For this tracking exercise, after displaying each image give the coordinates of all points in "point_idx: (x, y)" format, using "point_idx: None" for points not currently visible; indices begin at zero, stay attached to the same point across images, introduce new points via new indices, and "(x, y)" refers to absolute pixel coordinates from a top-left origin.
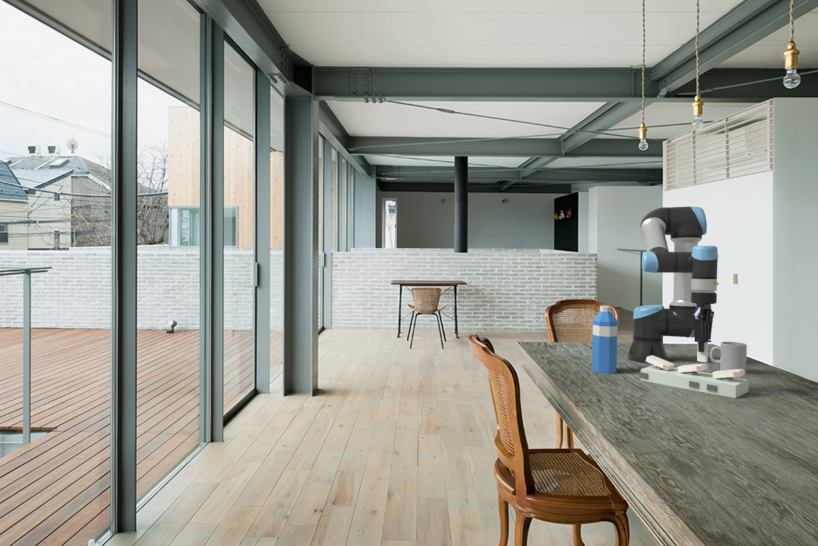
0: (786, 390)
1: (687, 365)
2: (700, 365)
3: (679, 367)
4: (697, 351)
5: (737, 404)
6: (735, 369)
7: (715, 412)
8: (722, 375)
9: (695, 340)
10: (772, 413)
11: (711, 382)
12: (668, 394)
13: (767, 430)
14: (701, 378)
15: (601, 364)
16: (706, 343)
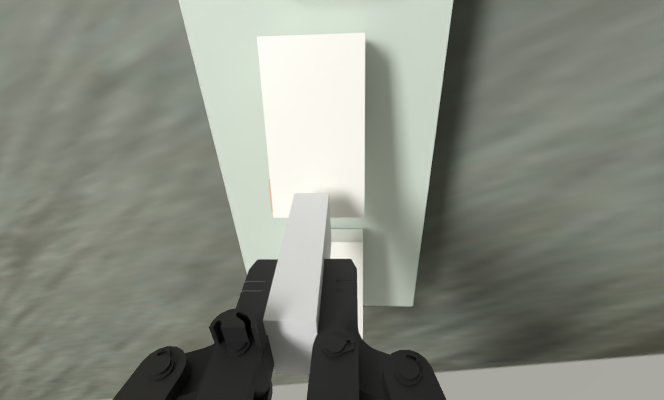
0: (526, 326)
1: (315, 98)
2: (273, 208)
3: (259, 54)
4: (282, 244)
5: (195, 286)
6: (360, 322)
7: (47, 274)
8: None
9: (159, 352)
10: (197, 347)
11: (239, 230)
12: (52, 88)
13: (56, 361)
14: (255, 186)
15: None
16: (282, 369)
